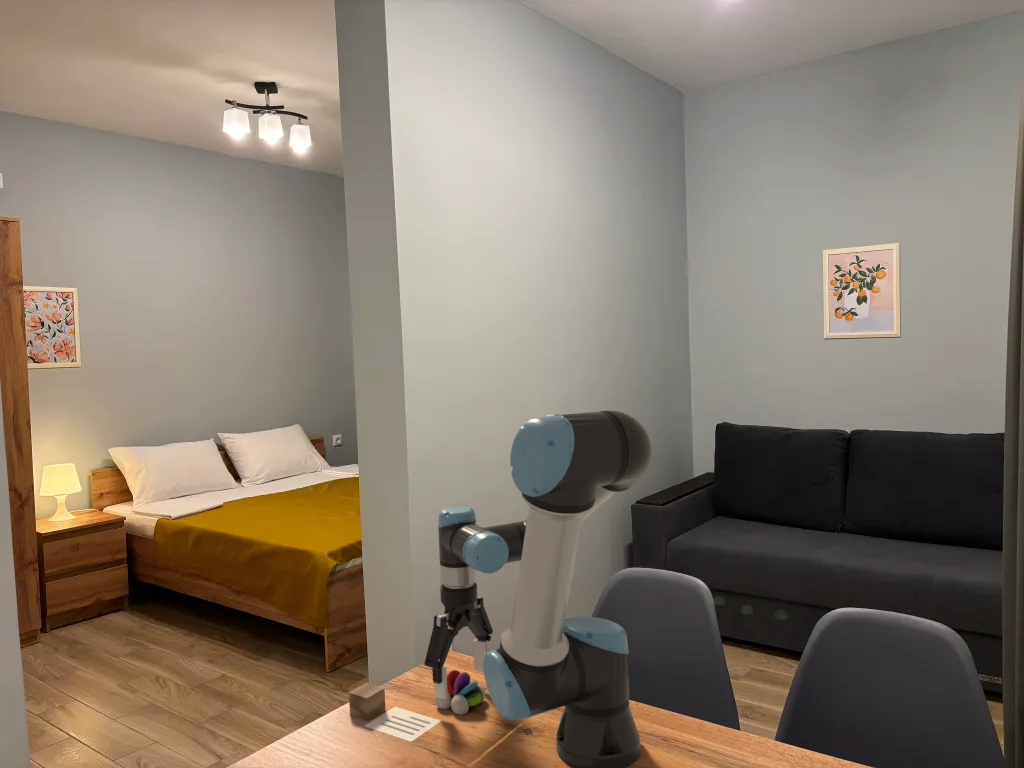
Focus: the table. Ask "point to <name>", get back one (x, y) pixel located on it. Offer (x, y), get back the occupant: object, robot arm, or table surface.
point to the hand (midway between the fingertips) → (461, 683)
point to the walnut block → (367, 701)
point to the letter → (403, 723)
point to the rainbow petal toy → (461, 693)
